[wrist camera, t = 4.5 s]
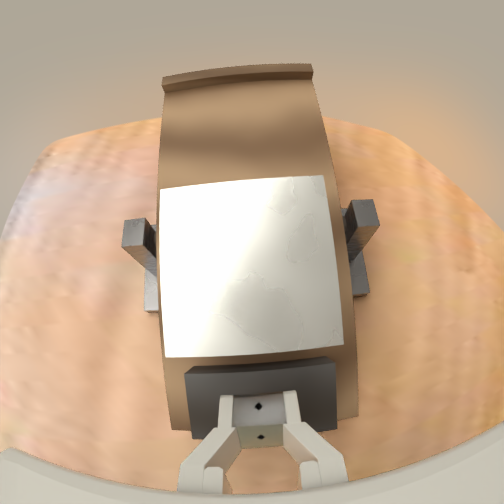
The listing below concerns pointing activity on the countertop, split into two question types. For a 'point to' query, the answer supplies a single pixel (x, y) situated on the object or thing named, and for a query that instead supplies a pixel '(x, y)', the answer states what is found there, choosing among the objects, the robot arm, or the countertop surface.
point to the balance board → (248, 168)
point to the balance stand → (357, 235)
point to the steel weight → (248, 268)
